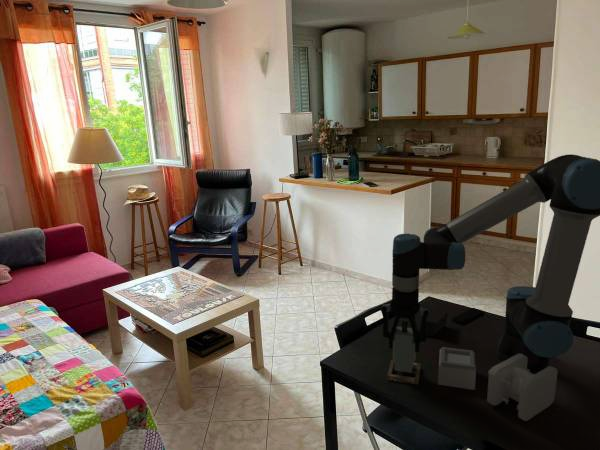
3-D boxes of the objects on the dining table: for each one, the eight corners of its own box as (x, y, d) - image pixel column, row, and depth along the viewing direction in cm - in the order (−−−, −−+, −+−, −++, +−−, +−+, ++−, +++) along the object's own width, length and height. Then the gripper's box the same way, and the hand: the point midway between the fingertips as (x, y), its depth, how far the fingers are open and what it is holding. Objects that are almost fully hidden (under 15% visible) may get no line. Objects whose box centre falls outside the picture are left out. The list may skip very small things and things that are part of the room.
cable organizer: (521, 427, 111) (525, 386, 108) (484, 405, 120) (487, 367, 117) (554, 405, 119) (559, 366, 116) (517, 386, 128) (520, 349, 125)
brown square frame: (420, 367, 138) (420, 363, 138) (418, 384, 130) (418, 380, 130) (391, 363, 141) (391, 359, 141) (387, 380, 133) (387, 375, 133)
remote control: (472, 311, 176) (450, 321, 168) (473, 307, 176) (450, 317, 167) (484, 315, 173) (461, 326, 164) (484, 311, 172) (462, 321, 163)
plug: (413, 363, 137) (414, 319, 133) (411, 372, 132) (412, 326, 128) (396, 361, 138) (397, 317, 134) (394, 370, 134) (395, 324, 130)
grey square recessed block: (473, 370, 136) (474, 350, 134) (474, 389, 126) (476, 368, 125) (439, 366, 139) (439, 345, 137) (438, 384, 130) (438, 363, 128)
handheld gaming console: (416, 318, 167) (433, 301, 163) (431, 329, 168) (449, 312, 163) (415, 337, 157) (434, 319, 153) (432, 348, 157) (451, 331, 153)
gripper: (438, 285, 129) (435, 356, 135) (376, 280, 135) (376, 349, 141) (437, 295, 122) (434, 370, 128) (372, 289, 128) (372, 361, 134)
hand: (404, 359), depth 134 cm, fingers closed on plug, 5 cm apart
